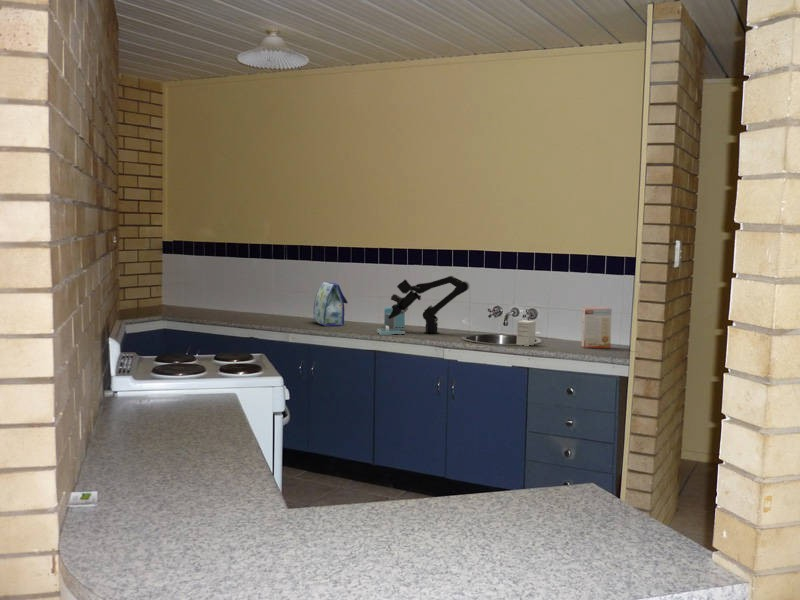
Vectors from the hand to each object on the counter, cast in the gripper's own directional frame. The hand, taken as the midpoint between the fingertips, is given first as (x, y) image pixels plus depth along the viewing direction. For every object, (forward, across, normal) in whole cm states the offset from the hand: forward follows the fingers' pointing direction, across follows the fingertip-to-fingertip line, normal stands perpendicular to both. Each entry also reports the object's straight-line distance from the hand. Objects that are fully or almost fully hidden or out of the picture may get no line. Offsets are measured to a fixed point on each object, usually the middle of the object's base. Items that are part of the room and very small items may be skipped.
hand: (389, 317), depth 464 cm
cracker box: (-77, +25, +88) cm, 120 cm away
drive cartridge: (+5, 0, +6) cm, 8 cm away
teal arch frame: (+7, -19, +4) cm, 21 cm away
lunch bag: (+36, -19, -25) cm, 48 cm away
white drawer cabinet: (-52, +28, +63) cm, 86 cm away
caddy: (+3, +12, +8) cm, 14 cm away
